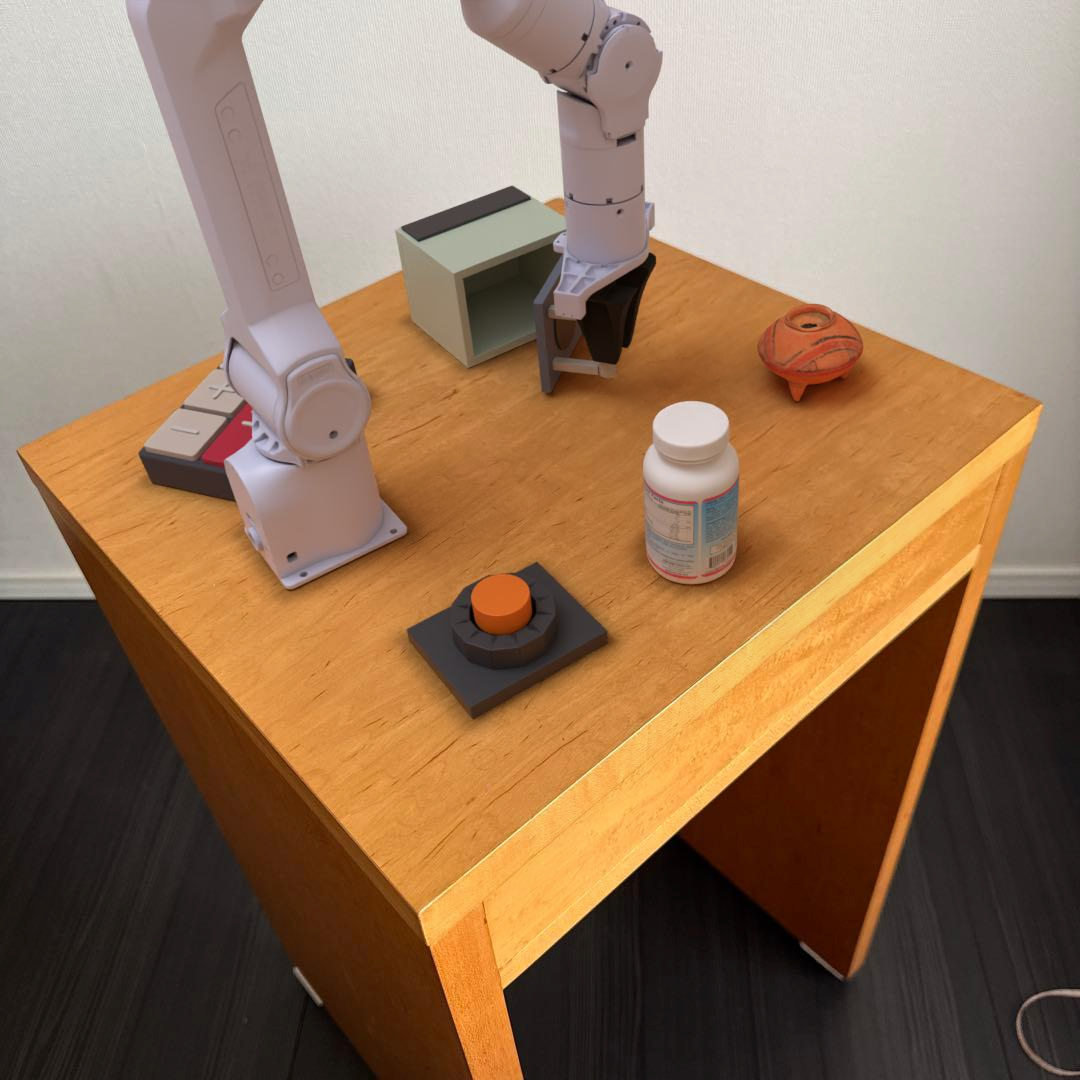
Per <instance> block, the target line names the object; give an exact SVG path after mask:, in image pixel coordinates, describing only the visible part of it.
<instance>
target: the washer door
mask: <svg viewBox="0 0 1080 1080" xmlns="http://www.w3.org/2000/svg"><path fill="white" fill-rule="evenodd" d="M563 257H564V254H562V256H561V257H560V259H559V261H558V262H557V264H556V266H555V267H554V269H553V271H552V272H551V274H550V276H549V277H548V279H547V281H546V282H545V284H544V286H543V287H542V289H541V290H540V292H539V294H538V295H537V297H536V299H535V300H534V302H533V309H534V319H535V329H536V339H535V340H536V348H537V349H536V350H537V358H538V359H537V360H538V367H539V377H540V388H541V392H543V393H552V392H553V390H554V388H555V386H556V384H557V382H558V380H559V378H560V376H561V374H562V373H563V372H568V373H576V374H584V375H585V374H586V375H595V376H600V377H601V378H604V379H612V378H614V377H616V376H617V374H618V363H617V364H616V365H612V364H607V363H601V362H596V361H593V360H592V359H591V360H589V359H580V358H571V356H572V354H573V352H574V350H575V348H576V346H577V344H578V342H579V340H580V338H581V337H582V336H583V334H582V331H581V329H580V326H579V324H578V322H577V320H576V319H573V318H566V317H562V316H556V315H555V304H554V291H555V289H556V288H557V286H558V284H559V282H560V278H561V271H562V264H563Z"/></svg>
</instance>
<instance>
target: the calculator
mask: <svg viewBox="0 0 1080 1080" xmlns="http://www.w3.org/2000/svg"><path fill="white" fill-rule="evenodd" d="M345 360H346V363H347V365H348V366H349V368H350V369H351V370H352V372H354V373H355V374H356V375H357V376H358V372H357V369H356V366H355V362H354V360H353V359H351V358H347V357H345ZM252 415H253V409H252V407H251V406H250V405H249V404H248V403H247V401H246V400H245V399H244V398H242V397H241V396H239V395H237V394H236V392H235V391H234V390H233V389H232V388H231V387H230V385H229V384H228V382H227V380H226V377H225V375H224V369H223V361H222V362H221V363H220V364H219V365H218V366H217V368H215V369H213V370H211V371H210V372H209V374H208V375H206V377H205V378H204V379H203V380H202V381H201V382H200V383H199V385H198V386H196V387H195V389H194V390H193V391H192V392H191V393H190V394H189V395H188V396H187V397H186V398H185V400H183V401H182V405H181V406H180V407H178V408H176V410H174V411H173V412H172V413H171V414H170V415H169V416H168V417H167V419H166V420H165V421H164V422H163V423H162V424H161V425H159V427H158V428H157V430H155V432H154V433H152V435H150V437H149V438H148V439H147V440H146V441H145V442H144V444H143V447H142V448H140V450H139V451H138V457H139V459H140V461H141V463H142V465H143V468H144V470H145V473H146V474H147V476H148V478H149V480H150V482H151V483H153V484H155V485H156V484H157V485H161V486H166V487H170V488H173V489H174V488H175V489H179V490H183V491H188V492H192V493H197V494H202V495H206V496H209V497H215V498H219V499H225V500H228V501H233V502H236V500H235V497H234V494H233V491H232V488H231V485H230V482H229V480H228V477H227V474H226V470H225V465H224V460H225V459H226V458H228V457H229V456H231V455H233V454H234V453H236V452H237V451H239V450H240V449H241V448H243V447H244V446H245V445H246V444H247V443H248V442H249V441H250V440H251V439H252Z"/></svg>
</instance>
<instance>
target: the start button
mask: <svg viewBox="0 0 1080 1080" xmlns="http://www.w3.org/2000/svg"><path fill="white" fill-rule="evenodd" d="M492 575H493V576H490V577H487V578H485V579H483V580H482V581H480V582H479V583H478V584H477V585H476V586H475V588H474V589H473V591H472V595H471V601H472V607H473V612H474V618H475V622H476V624H477V625H478V626H479V627H480V628H481V629H482V630H483V631H485V632H487V633H490V634H494V635H507V634H512V633H515V632H517V631H519V630H521V629H522V628H523V627H525V626H526V625H527V624H528V622H529V621H530V619H531V616H532V605H531V597H530V590H529V587H528V585H527V584H526V583H525V581H523V580H522V579H521V578H519V577H517V576H514V575H509V574H505V573H498V575H496V574H492Z"/></svg>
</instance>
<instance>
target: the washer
mask: <svg viewBox="0 0 1080 1080" xmlns="http://www.w3.org/2000/svg"><path fill="white" fill-rule="evenodd" d="M564 232H566V219H565V215H563V214H560V212H558V211H556V210H554V209H553V208H551V207H549V206H547V205H546V204H545V203H543V202H541V201H539V200H538V199H536V198H534V197H533V196H531V195H529V193H527V192H524V191H523V190H521V189H519V188H518V187H516V186H515V185H509V186H507V187H504V188H501V189H498V190H496V191H493V192H490V193H488V194H485V195H482V196H480V197H477V198H475V199H472V200H469V201H466V202H463V203H460V204H458V205H455V206H453V207H450V208H447V209H444V210H441V211H439V212H436V213H433V214H431V215H428V216H426V217H422V218H420V219H418V220H415V221H412V222H409V223H407V224H404V225H401V226H400V227H398V228H396V229H394V233H395V237H396V243H397V247H398V254H399V260H400V264H401V271H402V275H403V281H404V285H405V291H406V297H407V303H408V307H409V313H410V318H411V319H410V320H411V322H412V323H414V324H415V325H416V326H417V327H418V328H420V329H421V330H422V331H423V332H424V333H425V334H427V335H428V336H429V337H430V339H433V341H435V342H436V343H437V344H438V345H440V346H441V347H442V348H443V349H444V350H445V351H447V352H448V353H449V354H450V355H451V356H453V357H454V358H455V359H456V360H457V361H459V362H460V363H461V364H462V365H463V366H465V368H467V369H470V368H472V367H475V366H477V365H479V364H481V363H484V362H486V361H489V360H491V359H494V358H495V357H498V356H500V355H502V354H505V353H507V352H509V351H511V350H514V349H516V348H519V347H521V346H523V345H525V344H527V343H530V342H533V341H535V340H537V339H536V329H535V319H534V309H533V302H534V300H535V299H536V297H537V295H538V294H539V292H540V290H541V289H542V287H543V286H544V284H545V282H546V281H547V279H548V277H549V276H550V274H551V272H552V271H553V269H554V267H555V266H556V264H557V262H558V261H559V259H560V257H561V256H562V254H563V253H557V252H555V251H554V248H553V242H554V241H555V239H556V238H557V237H558V236H559V235H560V234H561V233H564Z"/></svg>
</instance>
